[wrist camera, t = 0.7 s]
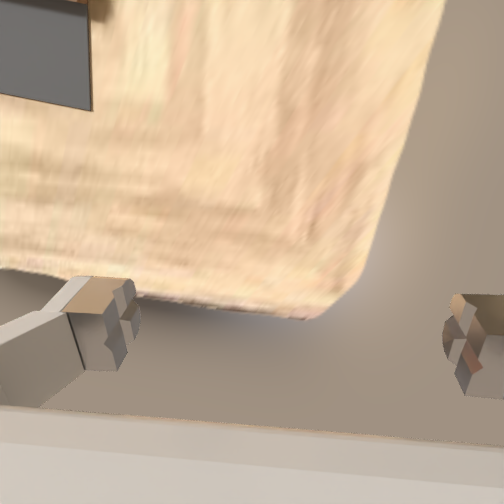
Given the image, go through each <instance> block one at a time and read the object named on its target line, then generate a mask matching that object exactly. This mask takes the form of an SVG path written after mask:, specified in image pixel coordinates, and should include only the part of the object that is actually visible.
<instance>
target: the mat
mask: <svg viewBox="0 0 504 504" xmlns="http://www.w3.org/2000/svg"><path fill="white" fill-rule="evenodd" d="M0 93H4V94H9V95H14V96H19V97H24V98H29V99H34V100H39V101H44V102H50V103H55V104H60V105H65V106H70V107H75V108H80V109H85V110H91V95H90V64H89V33H88V4H83V3H78V2H73V1H68V0H0Z"/></svg>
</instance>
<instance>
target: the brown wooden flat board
mask: <svg viewBox="0 0 504 504" xmlns="http://www.w3.org/2000/svg"><path fill="white" fill-rule="evenodd" d="M68 1H73V2H78V3H83V4H88V2H87V0H68Z"/></svg>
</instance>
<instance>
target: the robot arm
mask: <svg viewBox="0 0 504 504" xmlns="http://www.w3.org/2000/svg"><path fill="white" fill-rule="evenodd" d="M135 294H136V289H135V285H134V282H133V281H132V280H131V279H128V278H113V277H98V276H95V277H94V276H74V277H72V278H71V279H70V280H69V281H68V282H67V283H66V285H64V287H63V288H62V289H61V290H60V291H59V292H58V293H57V294H56V295H55V296H54V297H53V298H52V299H51V300H50V301H49V302H48V303H47V304H46V305H45V307H43V309H42V310H41V311H33V312H31V313H28V314H26V315H24V316H22V317H20V318H17V319H16V320H13V321H11V322H9V323H6V324H4V325H2V326H0V504H504V446H501V445H488V444H475V443H463V442H452V441H440V440H428V439H416V438H404V437H392V436H380V435H368V434H356V433H344V432H332V431H319V430H307V429H295V428H282V427H270V426H257V425H245V424H232V423H220V422H207V421H195V420H183V419H182V420H181V419H170V418H158V417H144V416H133V415H121V414H109V413H96V412H84V411H72V410H59V409H47V408H38V407H40V406H41V405H42V404H43V403H45V402H46V401H47V400H49V399H50V398H51V397H53V396H54V395H55V394H57V393H58V392H59V391H60V390H62V389H63V388H64V387H66V386H67V385H68V384H70V383H71V382H72V381H73V380H75V379H76V378H77V377H79V376H80V375H81V374H83V373H84V372H85V371H84V370H93V371H118V369H119V367H120V365H121V364H122V362H123V360H124V358H125V356H126V354H127V353H128V352H127V348H126V345H128V344H129V343H131V342H132V341H134V340H135V338H136V336H137V334H138V331H139V326H140V309H139V305H138V304H137V303H136V302H135V301H134V300H133V299H132V298H133V297H134V295H135ZM449 308H450V309H451V311H452V313H453V316H452V317H450V318H449V319H448V320H447V321H445V324H444V329H443V333H442V341H443V347H444V352H445V354H446V356H447V359H448V360H449V361H451V362H452V363H453V364H455V365H456V366H457V367H456V370H455V376H456V378H457V380H458V382H459V385H460V386H461V389H462V391H463V393H464V395H465V396H472V397H482V398H493V399H503V400H504V294H503V295H502V294H501V295H490V294H455V295H454V296H453V298H452V300H451V303H450V307H449Z"/></svg>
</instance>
